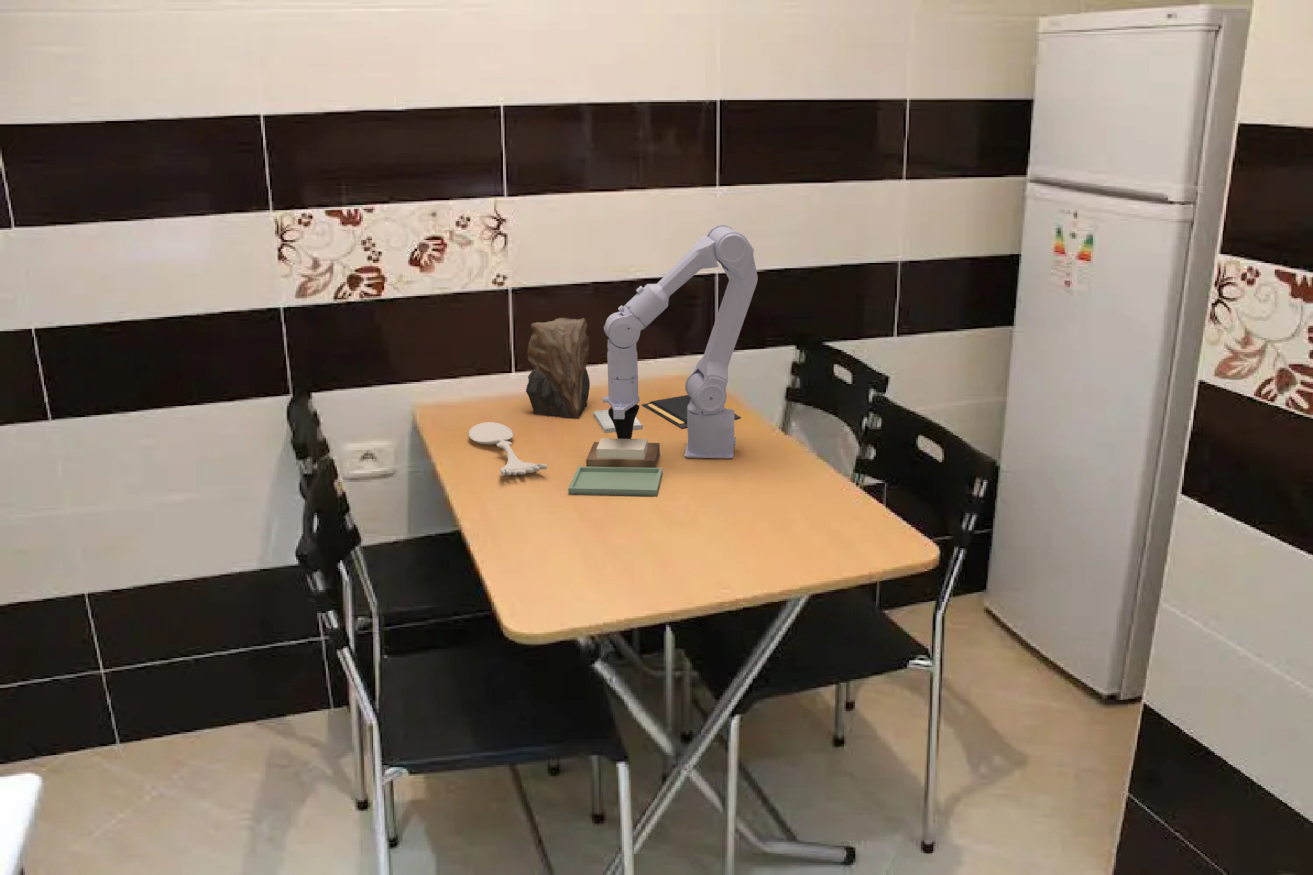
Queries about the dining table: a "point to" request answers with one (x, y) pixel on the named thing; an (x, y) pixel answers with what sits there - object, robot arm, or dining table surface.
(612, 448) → the tile
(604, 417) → the hard drive
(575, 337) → the brown rock
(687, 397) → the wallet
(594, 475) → the tray
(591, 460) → the deck
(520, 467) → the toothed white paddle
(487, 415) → the dining table surface
